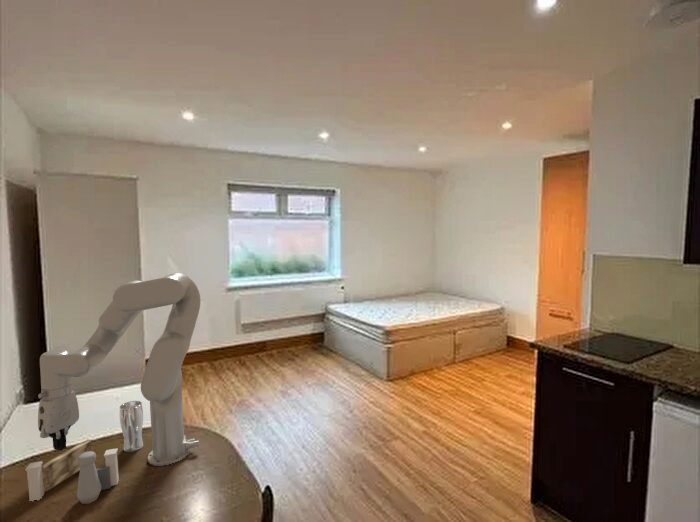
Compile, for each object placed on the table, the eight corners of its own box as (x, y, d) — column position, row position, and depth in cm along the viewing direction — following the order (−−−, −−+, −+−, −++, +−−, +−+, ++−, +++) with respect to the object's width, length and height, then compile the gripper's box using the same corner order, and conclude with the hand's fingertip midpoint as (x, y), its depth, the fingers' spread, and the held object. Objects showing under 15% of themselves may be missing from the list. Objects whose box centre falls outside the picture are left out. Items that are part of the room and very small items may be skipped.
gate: (47, 491, 115) (44, 467, 115) (42, 490, 116) (40, 466, 115) (93, 461, 130) (92, 440, 129) (89, 461, 130) (87, 439, 130)
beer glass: (129, 455, 135) (126, 411, 133) (117, 449, 138) (114, 406, 137) (149, 445, 141) (146, 403, 139) (137, 440, 144) (134, 398, 143)
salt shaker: (71, 504, 111) (68, 458, 110) (89, 491, 116) (85, 447, 115) (90, 507, 110) (87, 460, 108) (107, 493, 115) (103, 449, 114)
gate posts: (119, 479, 122) (117, 448, 121) (116, 487, 118) (114, 455, 117) (32, 495, 115) (29, 463, 114) (26, 505, 111) (23, 471, 110)
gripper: (41, 402, 117) (44, 464, 118) (88, 383, 131) (91, 438, 133) (22, 399, 119) (25, 459, 121) (70, 381, 133) (73, 435, 135)
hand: (60, 448), depth 127 cm, fingers closed
